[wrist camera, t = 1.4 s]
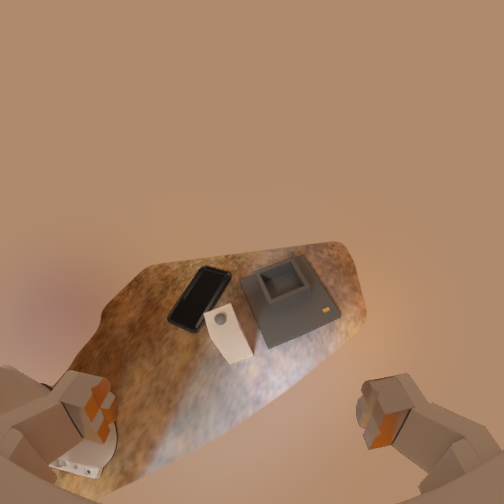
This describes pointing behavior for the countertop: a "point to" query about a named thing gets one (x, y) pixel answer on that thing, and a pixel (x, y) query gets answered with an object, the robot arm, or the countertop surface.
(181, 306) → the phone
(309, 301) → the dock
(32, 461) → the robot arm
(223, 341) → the cream square peg
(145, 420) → the countertop surface
